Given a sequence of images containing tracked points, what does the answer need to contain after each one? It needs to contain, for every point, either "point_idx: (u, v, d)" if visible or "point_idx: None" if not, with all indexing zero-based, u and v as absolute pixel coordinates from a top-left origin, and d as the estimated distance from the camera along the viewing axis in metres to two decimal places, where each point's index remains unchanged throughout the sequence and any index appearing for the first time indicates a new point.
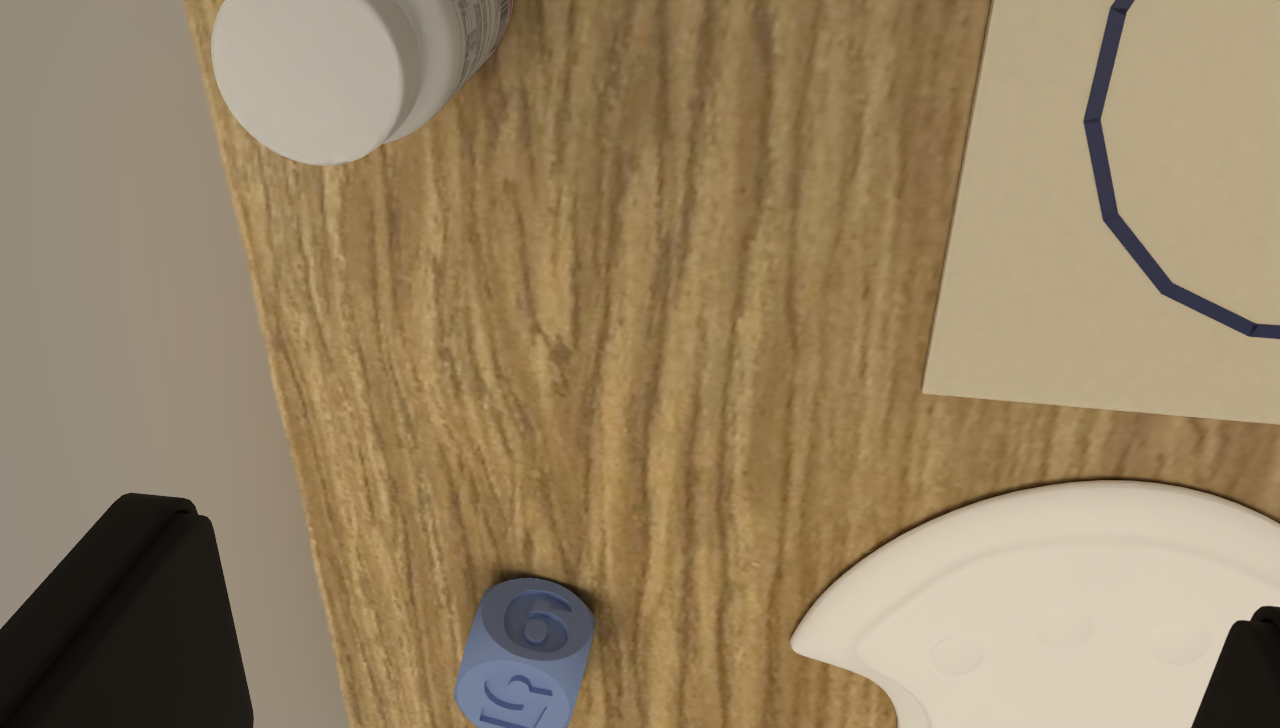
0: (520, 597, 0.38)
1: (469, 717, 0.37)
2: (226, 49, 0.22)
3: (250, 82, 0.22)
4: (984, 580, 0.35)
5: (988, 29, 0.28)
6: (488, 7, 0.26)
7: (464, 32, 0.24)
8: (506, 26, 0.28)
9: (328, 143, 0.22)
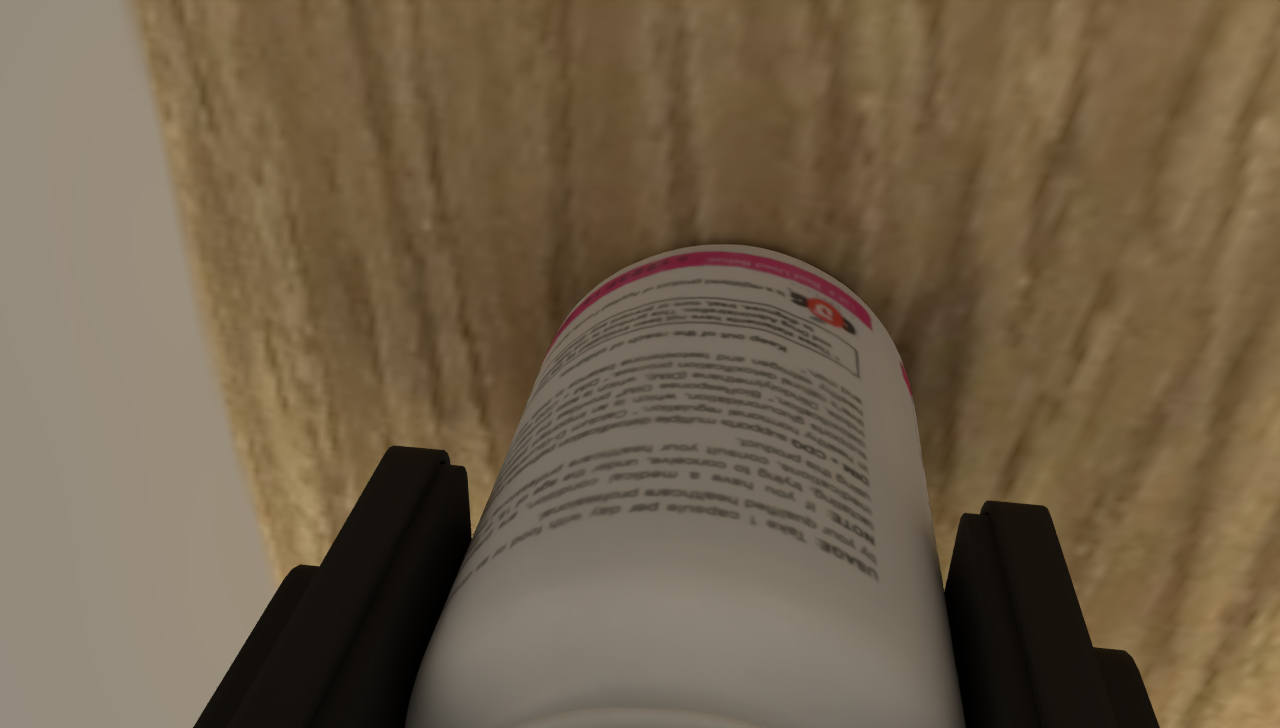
0: None
1: None
2: None
3: None
4: None
5: None
6: None
7: None
8: None
9: None
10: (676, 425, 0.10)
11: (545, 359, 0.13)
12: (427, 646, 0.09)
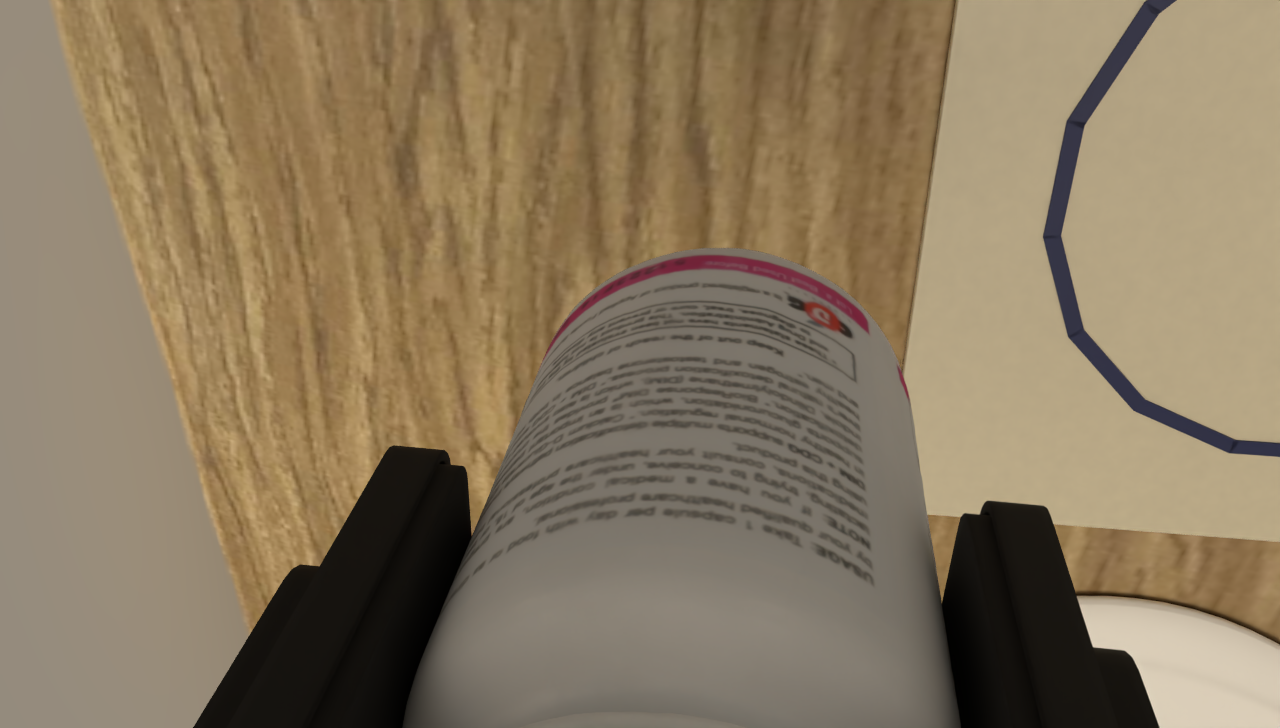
0: None
1: None
2: None
3: None
4: None
5: (937, 144, 0.26)
6: None
7: None
8: None
9: None
10: (673, 429, 0.10)
11: (543, 362, 0.13)
12: None
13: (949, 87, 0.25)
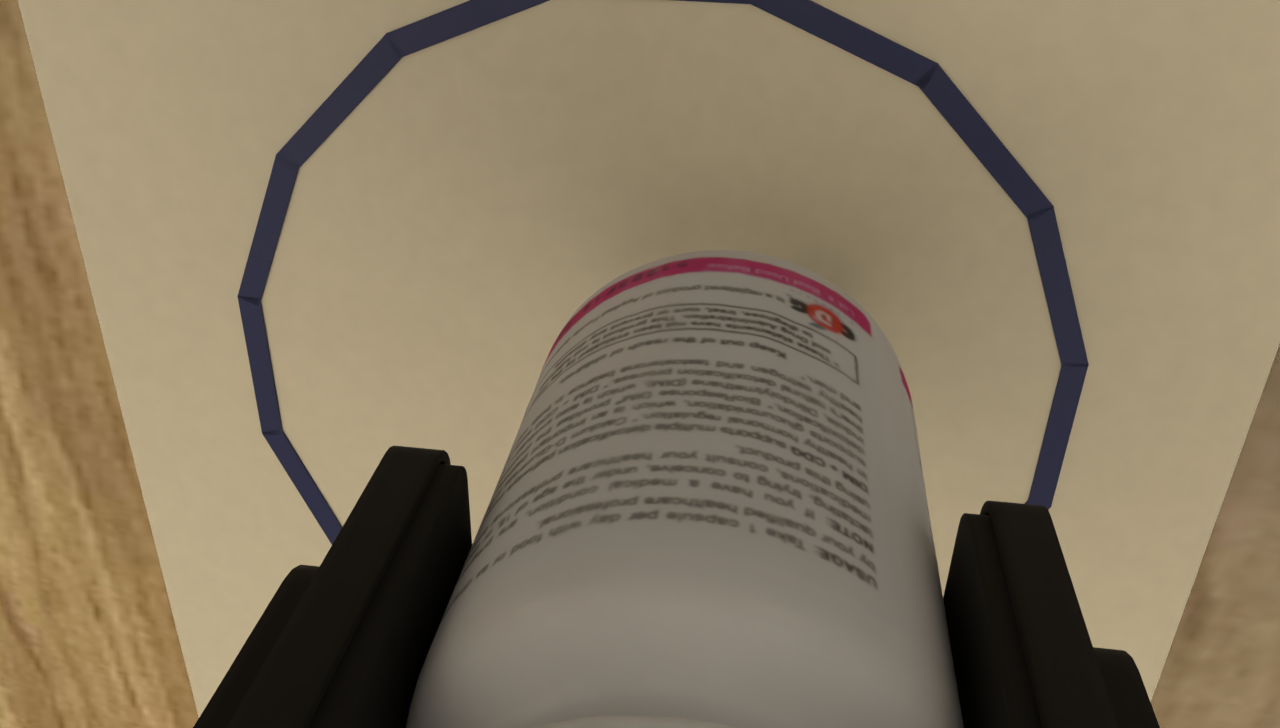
0: None
1: None
2: None
3: None
4: None
5: (99, 316, 0.20)
6: None
7: None
8: None
9: None
10: (676, 432, 0.10)
11: (545, 365, 0.13)
12: None
13: (84, 249, 0.19)
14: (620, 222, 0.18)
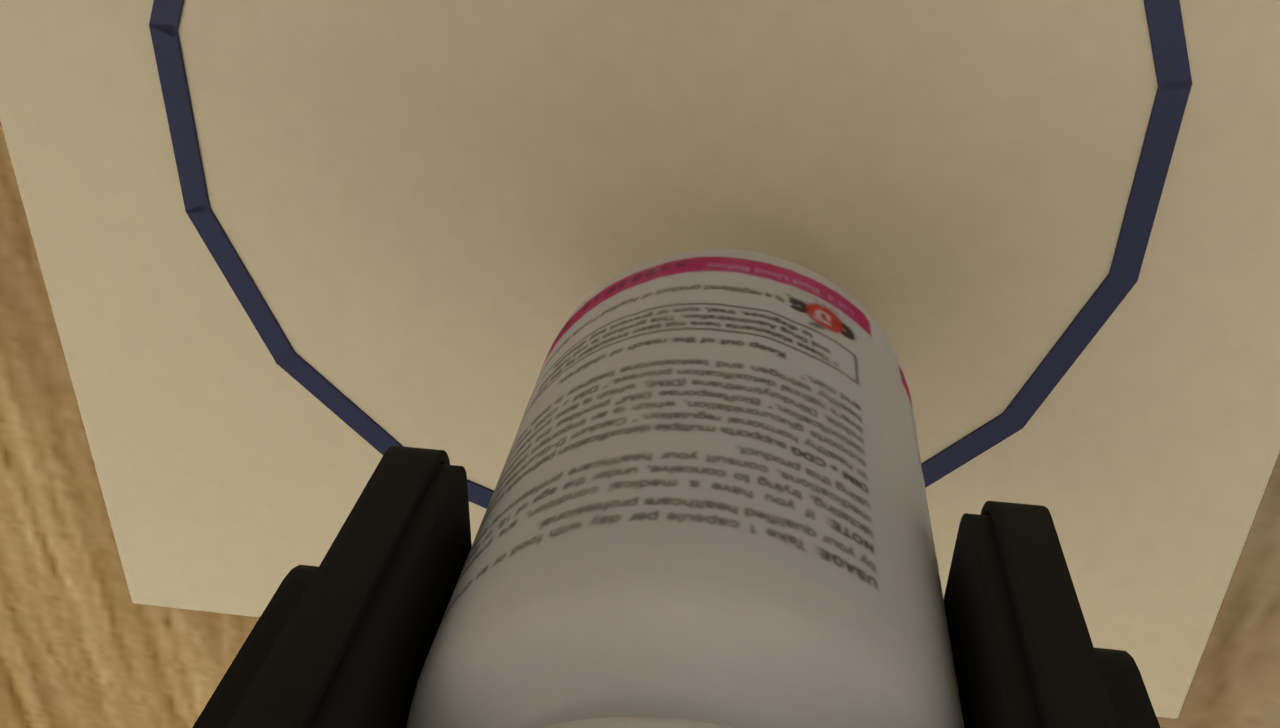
0: None
1: None
2: None
3: None
4: None
5: None
6: None
7: None
8: None
9: None
10: (675, 433, 0.10)
11: (544, 364, 0.13)
12: None
13: None
14: None
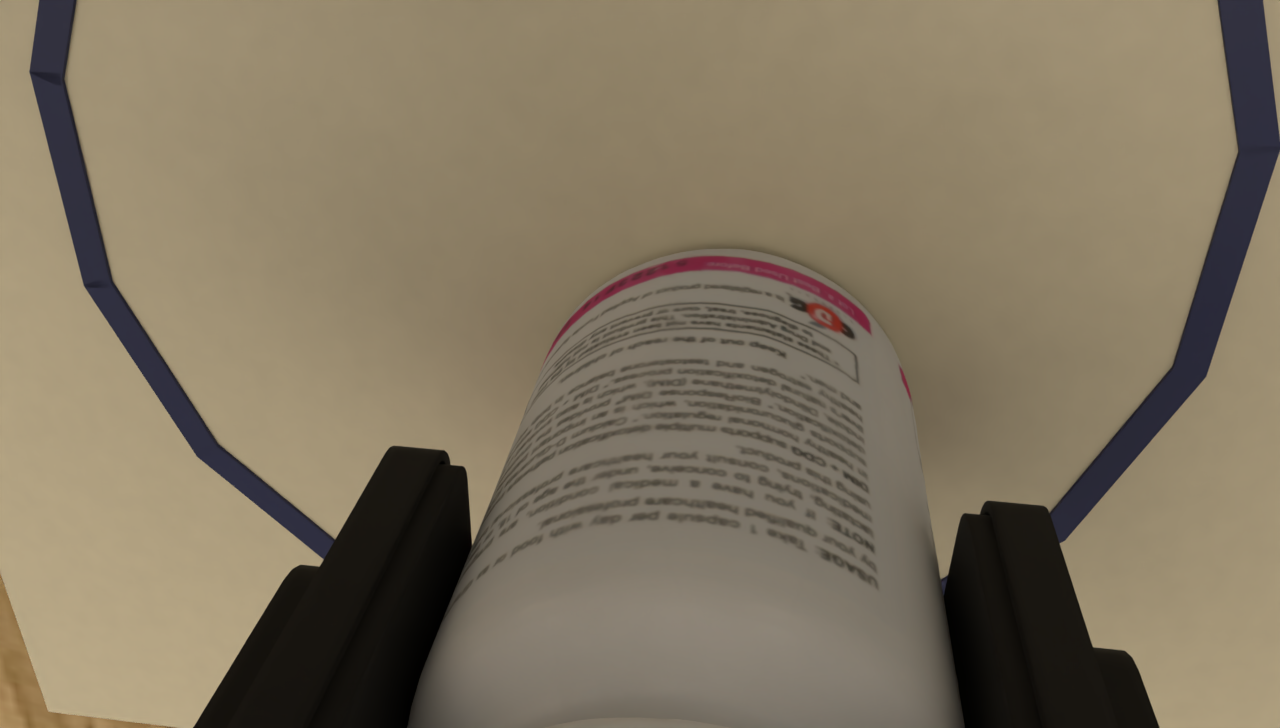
0: None
1: None
2: None
3: None
4: None
5: None
6: None
7: None
8: None
9: None
10: (676, 432, 0.10)
11: (544, 364, 0.13)
12: None
13: None
14: None
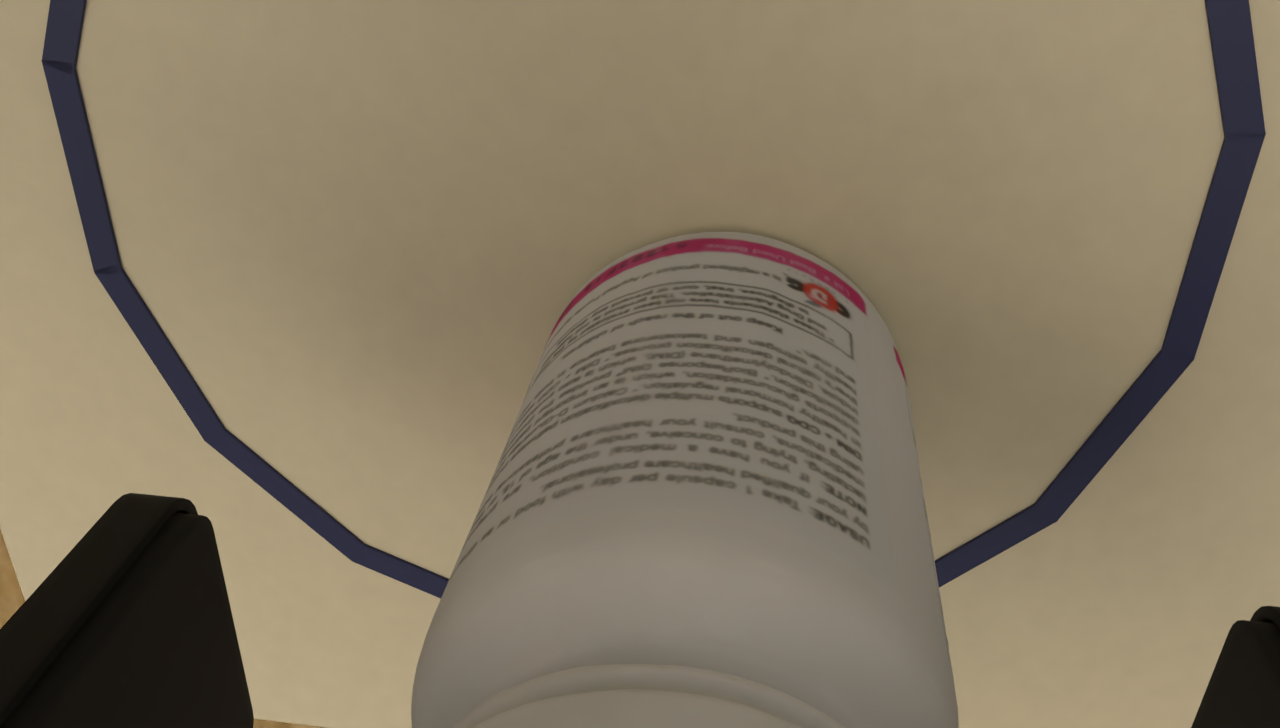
0: None
1: None
2: None
3: None
4: None
5: None
6: None
7: None
8: None
9: None
10: (675, 401, 0.10)
11: (547, 344, 0.13)
12: (434, 614, 0.10)
13: None
14: None
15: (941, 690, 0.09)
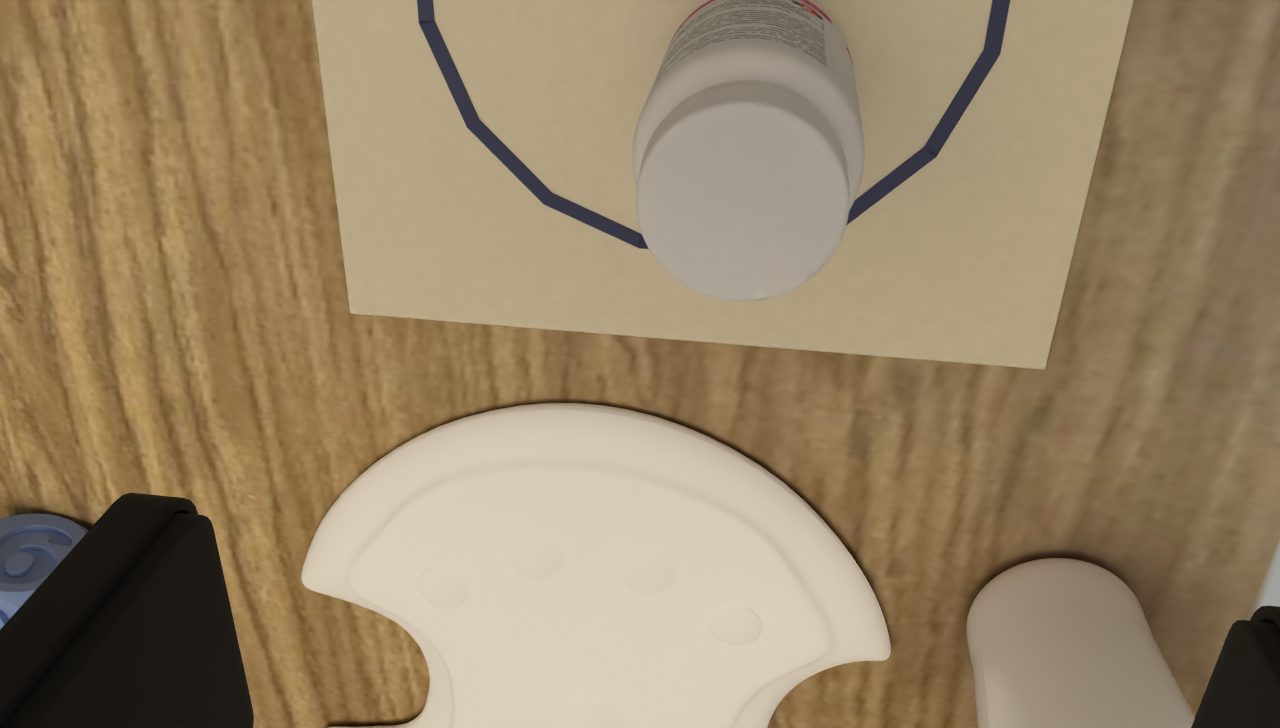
0: (22, 532, 0.37)
1: None
2: (657, 184, 0.20)
3: (676, 217, 0.20)
4: (446, 507, 0.34)
5: None
6: None
7: None
8: None
9: (751, 279, 0.21)
10: (744, 23, 0.23)
11: (669, 44, 0.26)
12: None
13: None
14: None
15: (855, 118, 0.21)
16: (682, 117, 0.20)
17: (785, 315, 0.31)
